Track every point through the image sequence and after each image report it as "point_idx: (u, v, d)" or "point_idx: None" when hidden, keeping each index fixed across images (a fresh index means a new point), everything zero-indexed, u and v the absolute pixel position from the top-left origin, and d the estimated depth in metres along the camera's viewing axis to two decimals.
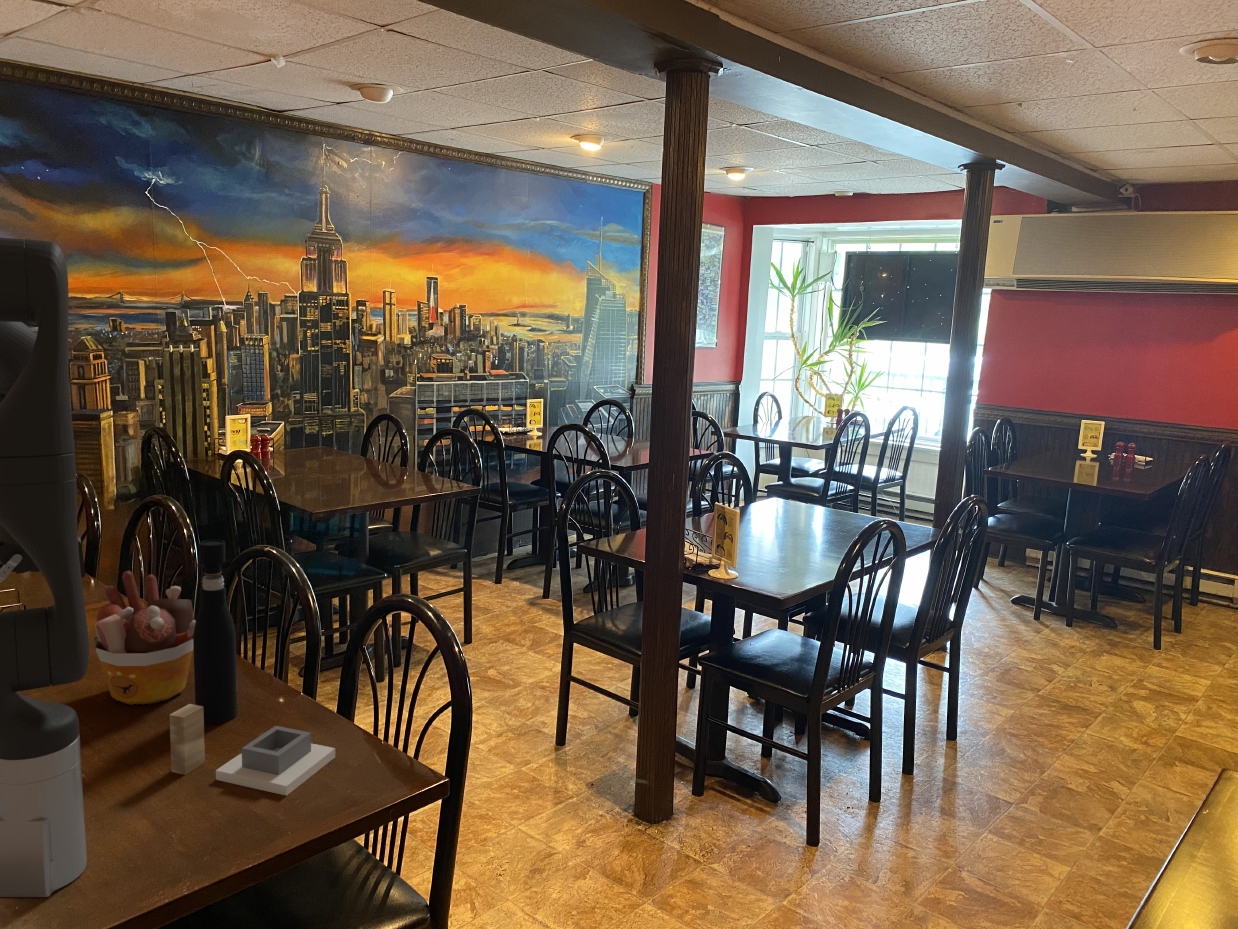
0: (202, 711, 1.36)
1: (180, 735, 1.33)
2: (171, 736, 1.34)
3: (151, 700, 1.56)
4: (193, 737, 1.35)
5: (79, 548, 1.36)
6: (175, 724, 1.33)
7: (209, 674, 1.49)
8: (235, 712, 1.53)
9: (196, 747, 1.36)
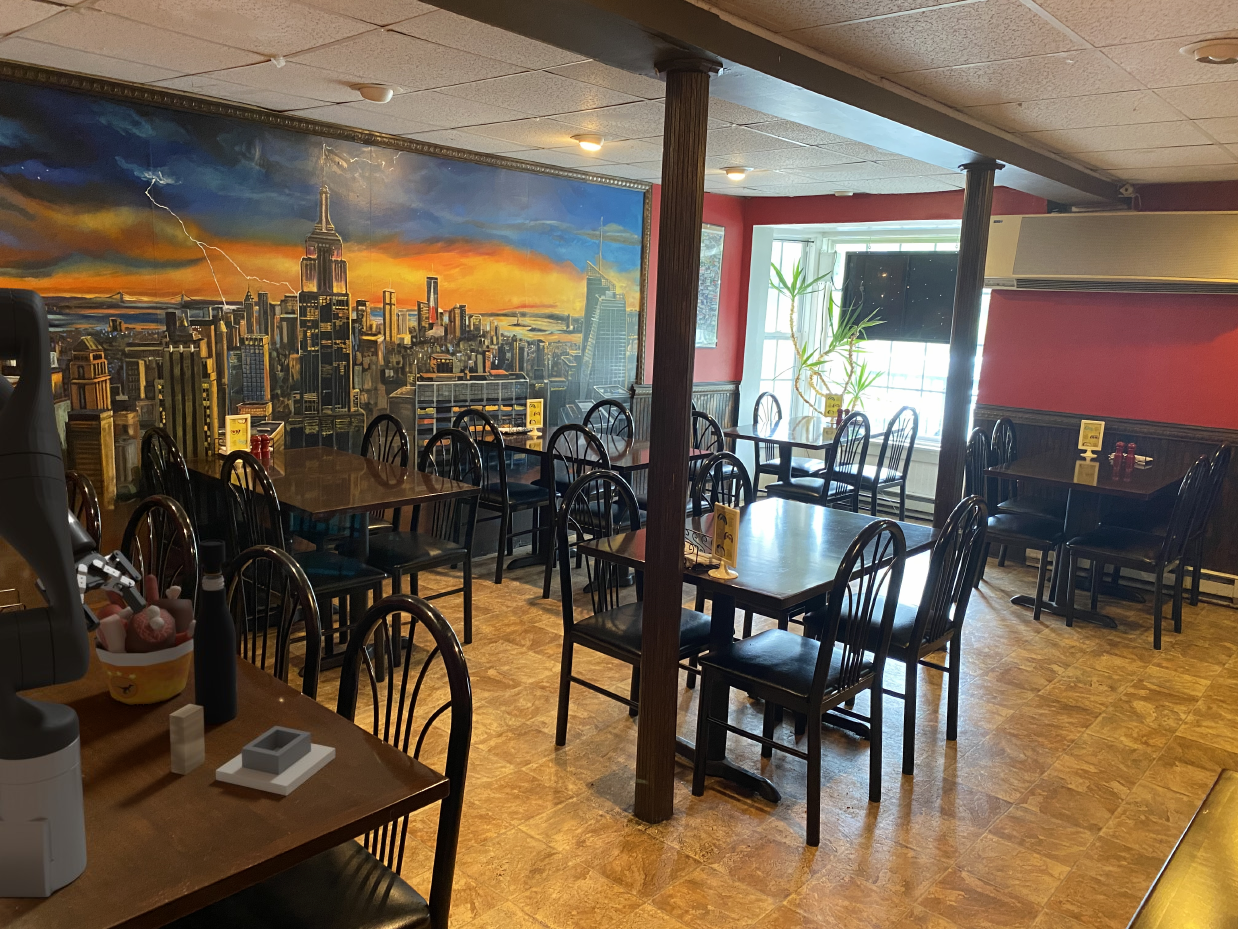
0: (202, 711, 1.36)
1: (180, 735, 1.33)
2: (171, 736, 1.34)
3: (151, 700, 1.56)
4: (193, 737, 1.35)
5: (121, 555, 1.42)
6: (175, 724, 1.33)
7: (209, 674, 1.49)
8: (235, 712, 1.53)
9: (196, 747, 1.36)
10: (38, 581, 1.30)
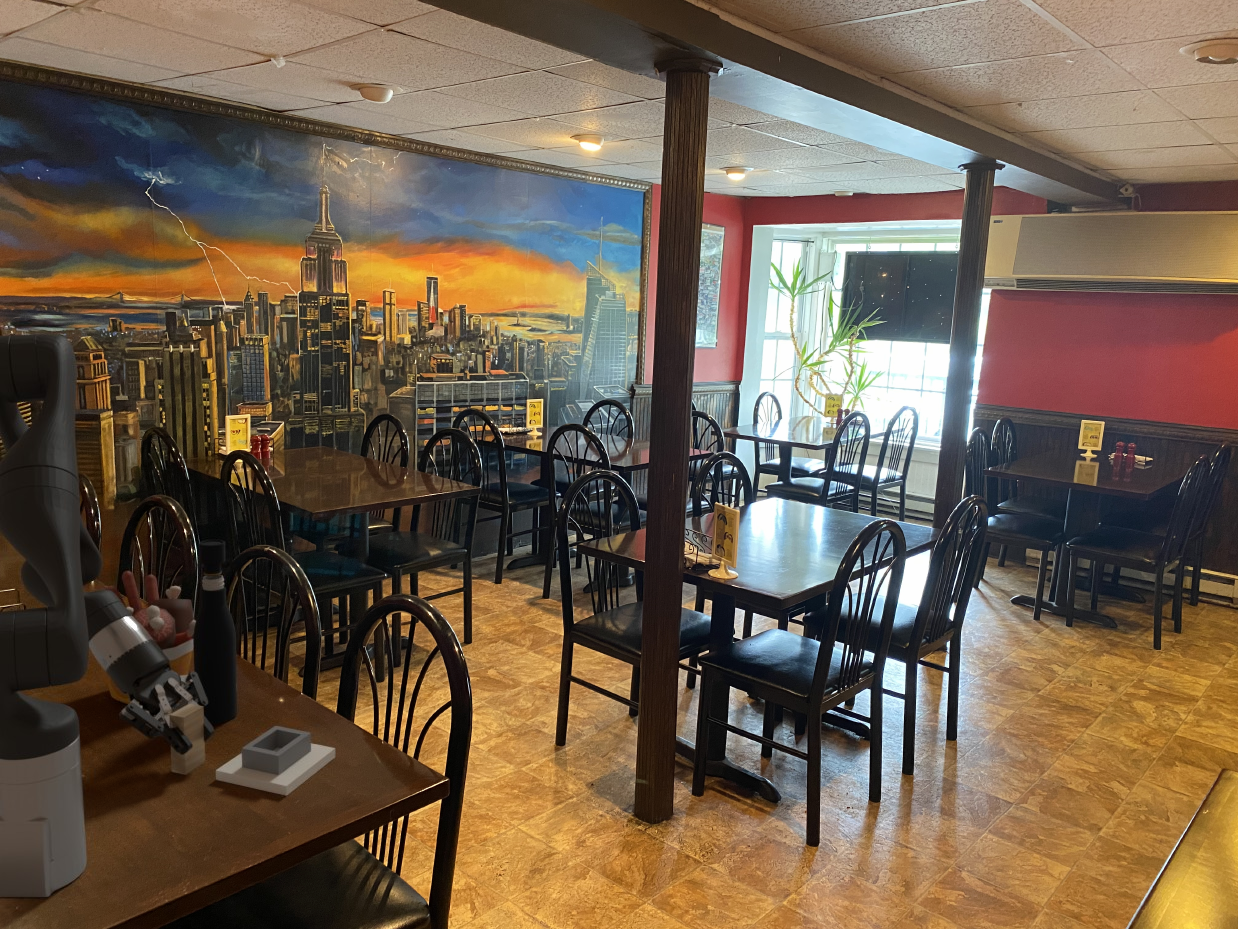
0: (202, 711, 1.36)
1: None
2: None
3: None
4: (193, 737, 1.35)
5: (196, 677, 1.41)
6: None
7: (209, 674, 1.49)
8: (235, 712, 1.53)
9: (196, 747, 1.36)
10: (124, 713, 1.30)
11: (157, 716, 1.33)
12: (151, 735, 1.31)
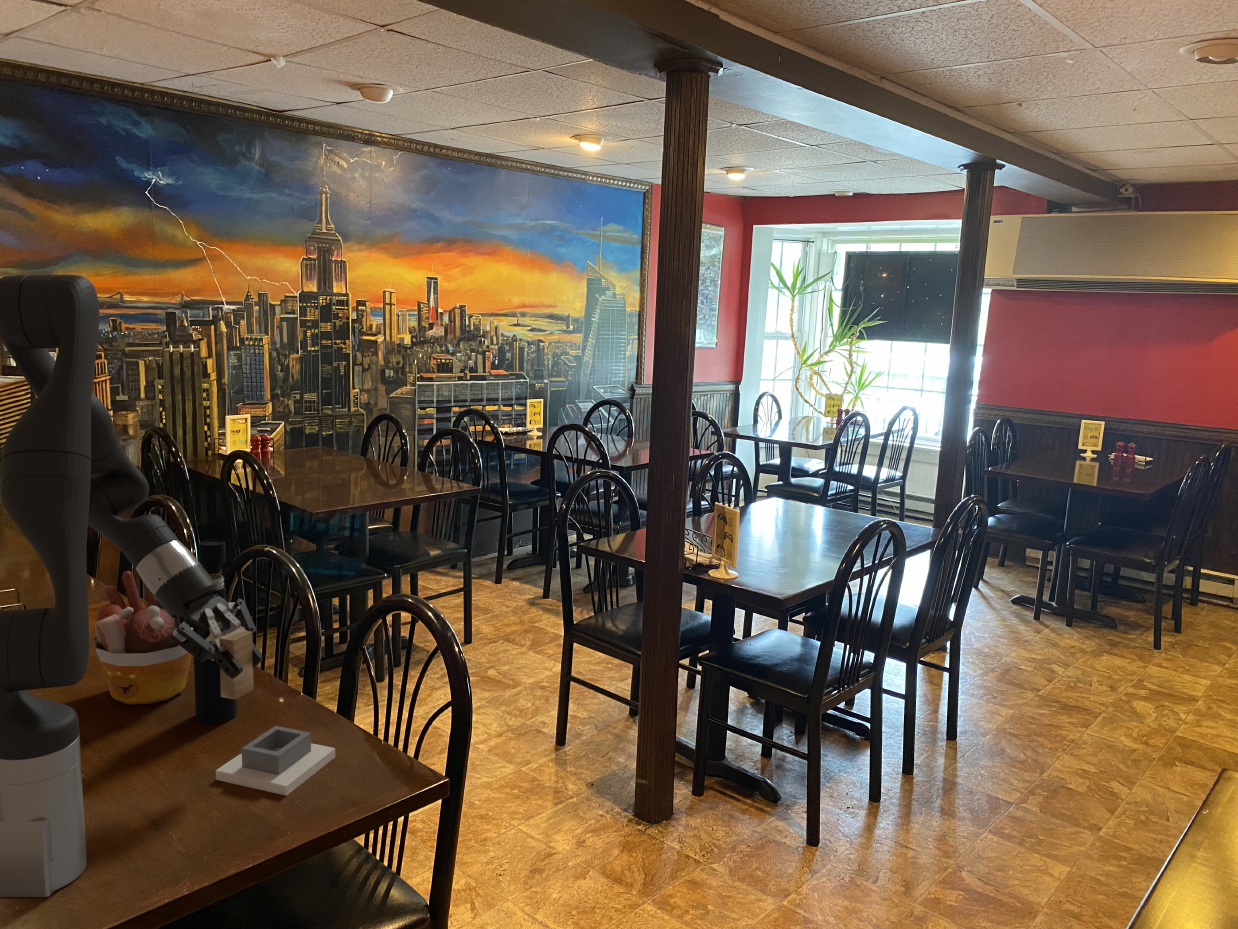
0: (251, 636, 1.35)
1: None
2: None
3: (151, 700, 1.56)
4: (242, 662, 1.34)
5: (243, 605, 1.40)
6: None
7: (209, 674, 1.49)
8: (235, 712, 1.53)
9: (245, 672, 1.34)
10: (175, 635, 1.28)
11: (207, 639, 1.32)
12: (202, 657, 1.30)
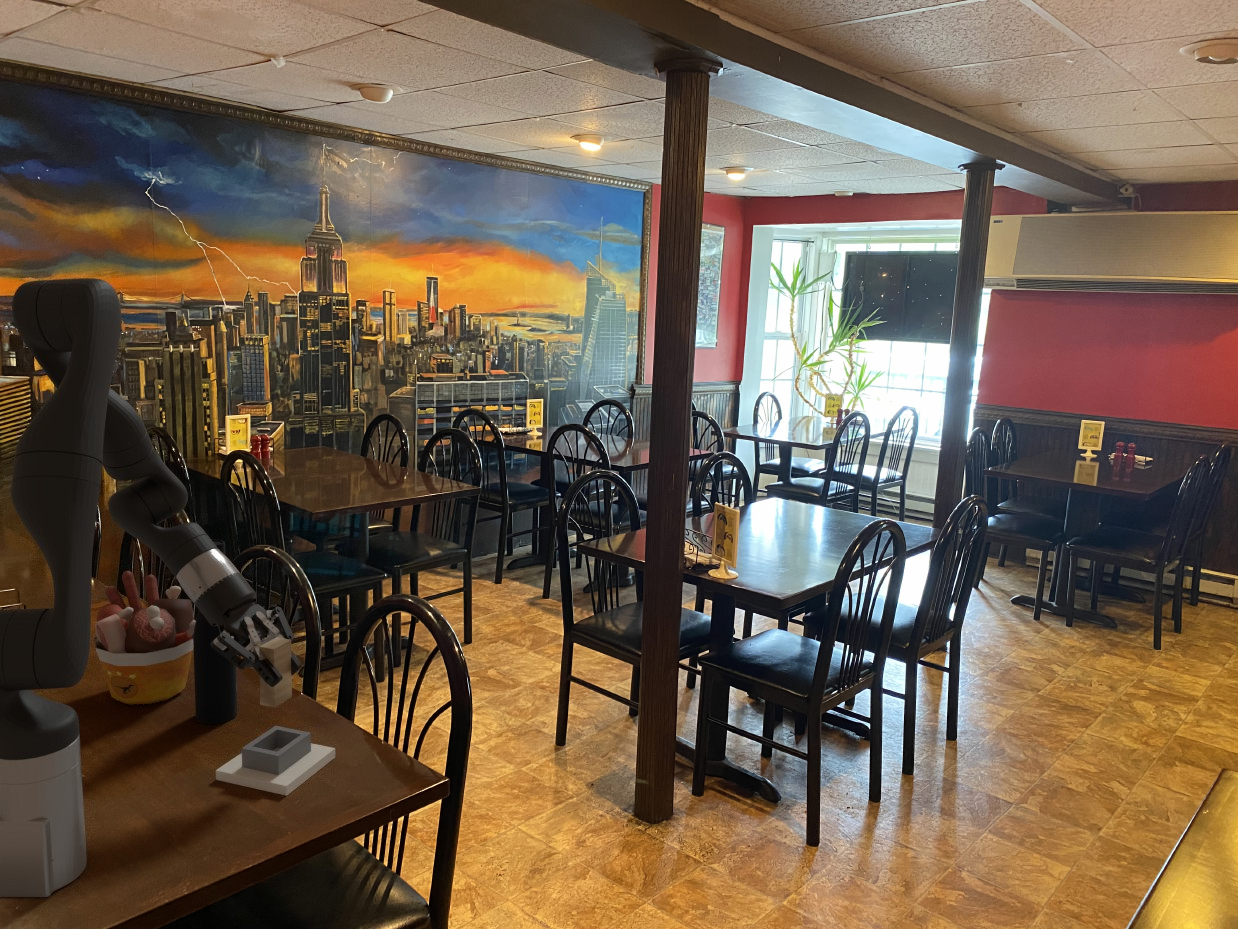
0: (290, 644, 1.35)
1: None
2: None
3: (151, 700, 1.56)
4: (281, 670, 1.34)
5: (281, 612, 1.40)
6: None
7: (209, 674, 1.49)
8: (235, 712, 1.53)
9: (284, 680, 1.35)
10: (216, 643, 1.29)
11: (247, 648, 1.32)
12: (242, 666, 1.30)
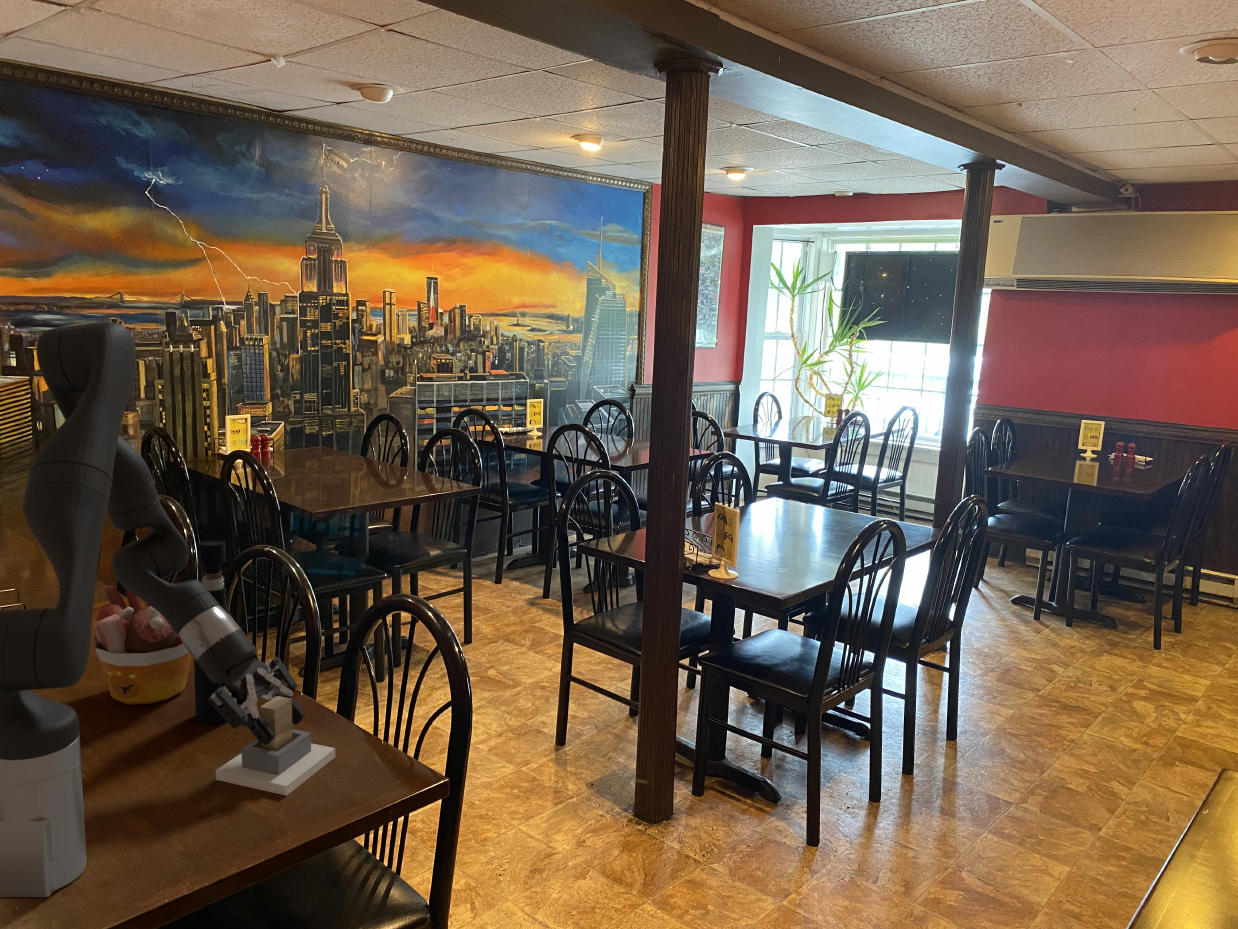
0: (291, 703, 1.37)
1: (271, 727, 1.34)
2: None
3: (151, 700, 1.56)
4: (282, 729, 1.36)
5: (280, 662, 1.42)
6: (266, 716, 1.34)
7: None
8: None
9: (285, 739, 1.37)
10: (213, 698, 1.30)
11: (243, 705, 1.33)
12: (235, 725, 1.30)
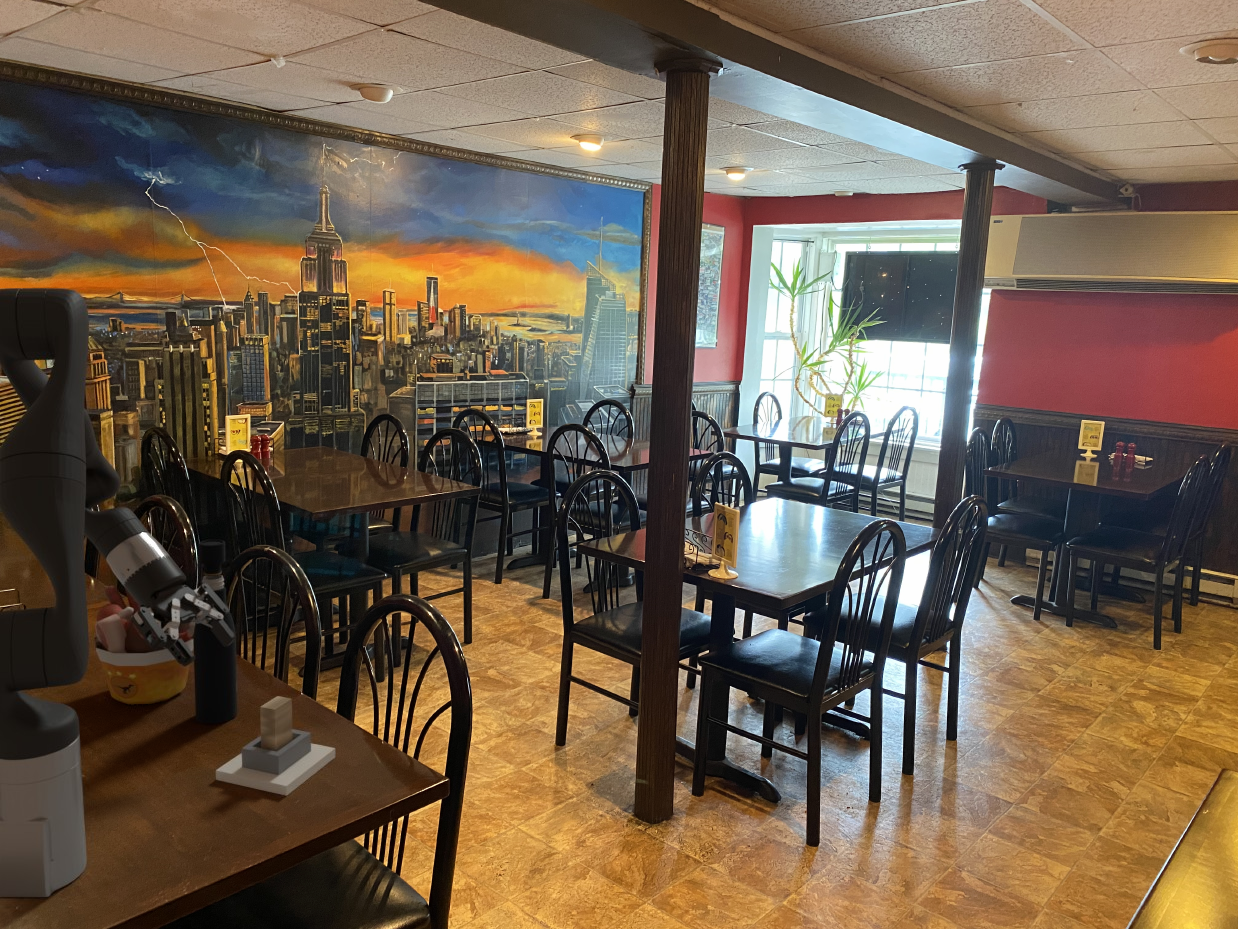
0: (291, 703, 1.37)
1: (271, 727, 1.34)
2: (261, 728, 1.35)
3: (151, 700, 1.56)
4: (282, 729, 1.36)
5: (209, 588, 1.44)
6: (266, 716, 1.34)
7: (209, 674, 1.49)
8: (235, 712, 1.53)
9: (285, 739, 1.37)
10: (135, 616, 1.32)
11: (165, 627, 1.35)
12: (154, 645, 1.32)
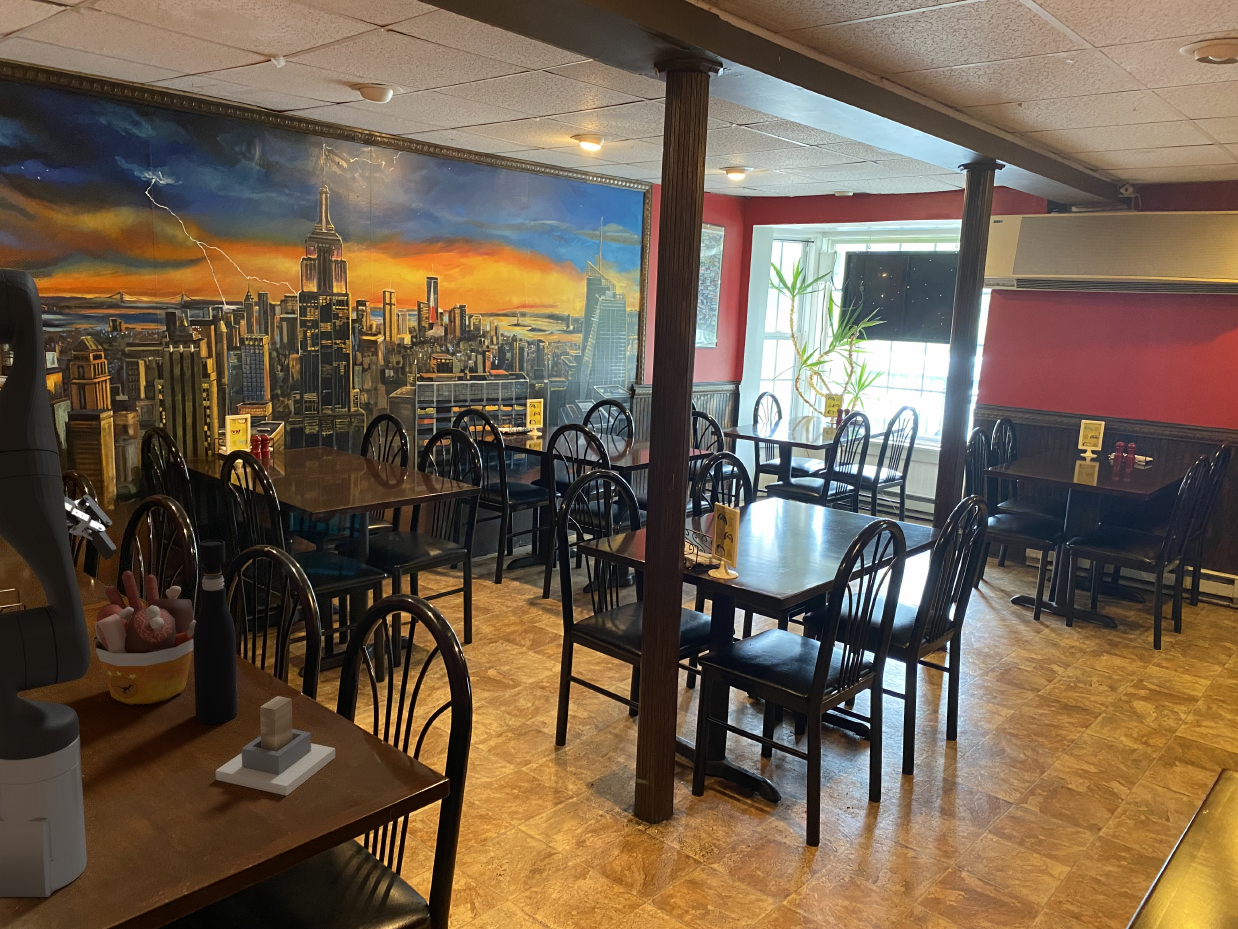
0: (291, 703, 1.37)
1: (271, 727, 1.34)
2: (261, 728, 1.35)
3: (151, 700, 1.56)
4: (282, 729, 1.36)
5: (91, 500, 1.38)
6: (266, 716, 1.34)
7: (209, 674, 1.49)
8: (235, 712, 1.53)
9: (285, 739, 1.37)
10: None
11: None
12: None
